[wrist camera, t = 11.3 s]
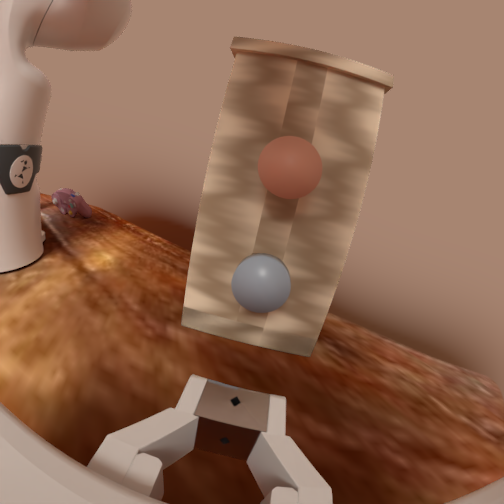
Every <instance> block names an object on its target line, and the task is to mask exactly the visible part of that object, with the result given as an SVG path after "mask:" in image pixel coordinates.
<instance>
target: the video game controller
mask: <svg viewBox="0 0 504 504" xmlns="http://www.w3.org/2000/svg"><path fill="white" fill-rule="evenodd" d="M52 201H53V203H54V204H55V205H56V206H57V207H58V208H59V210H60V211H61V213H62V214H66V213H67V212H68V214H69V215H70V216H71V217H74V216H75V215H76V214H77V212H78V213H79V214H80V215H82V216H83V217H86V218H89V217H90V216H91V214H92V210H91V208H90V207H89V205H88V204H87V203H86V202H85V201H84V199H83V198H82V196H80V195H79V193H78V192H74V191H73V190H71V189H66V188H65V189H60V190H57V191H56V192H55V193H53V194H52Z"/></svg>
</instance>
